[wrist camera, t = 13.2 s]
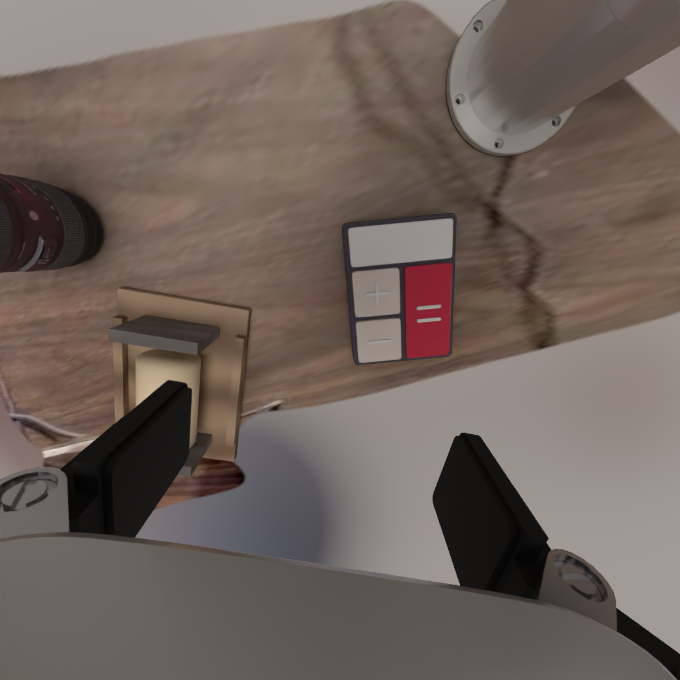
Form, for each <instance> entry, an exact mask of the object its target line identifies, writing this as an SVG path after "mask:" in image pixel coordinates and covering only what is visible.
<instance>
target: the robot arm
mask: <svg viewBox="0 0 680 680" xmlns="http://www.w3.org/2000/svg"><path fill="white" fill-rule="evenodd" d="M474 30H475V31H476V32H475V31H474ZM679 46H680V0H492V1H490V2H489V3H487V4H486V5H485V6H484V7H483V8H482V9H481V10H480V11H479V12H478V13H477V14H476V15H475V16H474V17H473V18H472V20H471V21H470V23H469V24H468V25H467V27H466V28H465V30H464V31H463V33H462V35H461V36H460V38H459V40H458V42H457V44H456V46H455V49H454V51H453V54H452V56H451V60H450V64H449V68H448V73H447V85H446V91H447V103H448V107H449V111H450V114H451V118H452V120H453V122H454V124H455V126H456V128H457V130H458V131H459V132H460V134H461V135H462V137H463V138H464V139H465V140H466V141H467V142H468V143H469V144H471V145H472V146H473V147H474V148H476V149H478V150H480V151H482V152H484V153H487V154H491V155H494V156H512V155H518V154H521V153H524V152H526V151H529V150H531V149H533V148H535V147H537V146H539V145H541V144H542V143H544V142H545V141H547V140H548V139H549V138H551V137H552V136H553V135H554V134H555V133H556V132H557V131H558V130H559V129H560V128H561V127H562V126H563V125H564V124H565V122H566V121H567V119H568V118H569V117H570V115H571V114H572V112H573V110H574V108H575V107H576V105H577V104H579V103H581V102H583V101H584V100H586V99H588V98H590V97H591V96H593V95H595V94H597V93H598V92H600V91H602V90H604V89H605V88H607V87H609V86H611V85H612V84H614V83H616V82H618V81H619V80H621V79H623V78H625V77H626V76H628V75H630V74H631V73H633V72H635V71H637V70H638V69H640V68H642V67H644V66H645V65H647V64H649V63H651V62H652V61H654V60H656V59H658V58H659V57H661V56H663V55H665V54H666V53H668V52H670V51H671V50H673V49H675V48H677V47H679ZM456 101H458V102H459V105H458V104H456ZM495 144H496V145H497V148H496V147H495ZM191 406H192V389H191V388H188V386H187V383H184V382H179V381H173V380H167V381H166V382H165V383H163V384H162V385H161V386H160V387H159V388H158V389H156V390H155V391H154V392H153V393H152V394H150V395H149V396H148V397H147V398H146V399H145V400H143V401H142V402H141V403H140V404H139V405H137V406H136V407H135V408H134V409H133V410H131V411H130V412H129V413H128V414H126V415H125V416H123V417H122V418H121V419H120V420H118V421H117V422H116V423H115V424H114V425H112V426H111V427H110V428H109V429H108V430H106V431H105V432H104V433H103V434H102V435H101V436H99V437H98V438H97V439H96V440H95V441H93V442H92V443H91V444H90V445H89V446H87V447H86V448H85V449H84V450H83V451H81V452H80V453H79V454H78V455H77V456H76V457H74V458H73V459H72V460H71V461H70V462H68V463H67V464H66V465H65V466H64V467H62V468H61V469H60V470H59V469H56V468H52V467H37V468H31V469H26V470H23V471H19V472H16V473H13V474H11V475H9V476H7V477H4V478H2V479H0V680H680V654H679V653H678V652H676V651H675V650H674V649H672V648H671V647H670V646H668V645H666V644H665V643H664V642H663V641H661V640H660V639H658V638H657V637H656V636H654V635H653V634H652V633H650V632H649V631H647V630H646V629H645V628H643V627H642V626H641V625H639V624H638V623H636V622H635V621H634V620H632V619H631V618H630V617H628V616H627V615H625V614H624V613H623V612H621V611H620V610H619V609H617V608H616V599H615V595H614V592H613V590H612V588H611V587H610V585H609V583H608V582H607V581H606V580H605V578H604V577H603V576H602V575H601V574H600V573H599V572H598V571H597V570H596V569H595V568H594V567H593V566H592V565H591V564H589V563H588V562H586V561H585V560H584V559H582V558H581V557H579V556H577V555H575V554H573V553H572V552H569V551H566V550H563V549H554V550H551V549H550V548H549V546H548V544H547V543H546V542H547V540H548V537H547V535H546V534H545V532H544V531H543V529H542V528H541V526H540V525H539V523H538V522H537V520H536V519H535V517H534V516H533V514H532V513H531V511H530V510H529V508H528V507H527V506H526V504H525V502H524V501H523V499H522V498H521V496H520V495H519V493H518V492H517V490H516V489H515V488H514V486H513V485H512V483H511V482H510V480H509V479H508V477H507V476H506V474H505V473H504V471H503V470H502V468H501V467H500V465H499V464H498V462H497V461H496V459H495V458H494V456H493V455H492V453H491V452H490V450H489V449H488V447H487V446H486V444H485V443H484V441H483V440H482V438H481V437H480V436H478V435H474V434H468V433H461V434H460V435H459V436H456V437H455V438H454V440H453V443H452V446H451V448H450V451H449V453H448V456H447V459H446V461H445V464H444V467H443V470H442V472H441V474H440V477H439V480H438V482H437V485H436V487H435V490H434V493H433V505H434V508H435V511H436V514H437V517H438V520H439V523H440V526H441V529H442V532H443V535H444V538H445V541H446V544H447V547H448V550H449V553H450V556H451V559H452V562H453V565H454V568H455V571H456V574H457V577H458V580H459V583H460V586H458V585H452V584H445V583H439V582H432V581H426V580H420V579H413V578H407V577H401V576H394V575H388V574H382V573H376V572H369V571H362V570H355V569H349V568H343V567H336V566H329V565H323V564H316V563H310V562H303V561H295V560H289V559H282V558H276V557H269V556H263V555H255V554H249V553H242V552H235V551H227V550H221V549H214V548H207V547H200V546H193V545H186V544H179V543H172V542H164V541H156V540H148V539H140V538H135V536H136V535H137V534H138V532H139V531H140V529H141V527H142V526H143V525H144V523H145V522H146V520H147V519H148V517H149V516H150V514H151V513H152V511H153V510H154V509H155V507H156V506H157V504H158V503H159V501H160V500H161V498H162V497H163V495H164V494H165V492H166V491H167V489H168V488H169V487H170V485H171V484H172V482H173V481H174V479H175V478H176V476H177V475H178V473H179V472H180V470H181V469H182V467H183V466H184V464H185V463H186V461H187V458H188V455H189V445H190V425H191Z"/></svg>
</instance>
